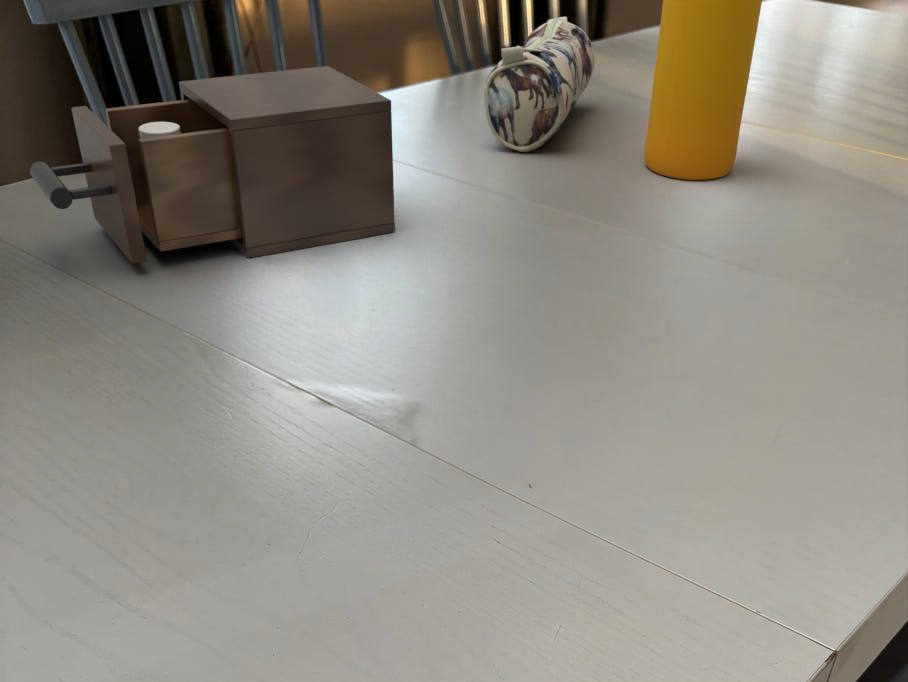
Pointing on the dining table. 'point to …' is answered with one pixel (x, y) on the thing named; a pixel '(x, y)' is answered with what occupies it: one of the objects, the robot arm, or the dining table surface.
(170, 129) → the glue stick
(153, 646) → the dining table surface
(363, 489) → the dining table surface
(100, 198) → the drawer
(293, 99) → the cabinet
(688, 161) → the yellow rounded cylinder
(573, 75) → the pencil case
